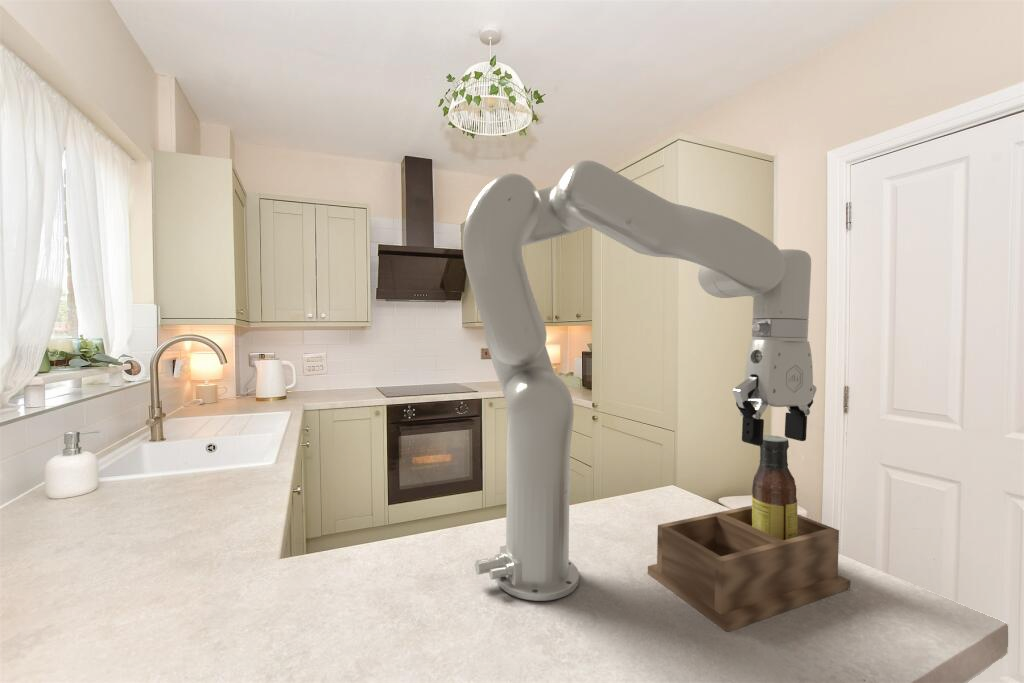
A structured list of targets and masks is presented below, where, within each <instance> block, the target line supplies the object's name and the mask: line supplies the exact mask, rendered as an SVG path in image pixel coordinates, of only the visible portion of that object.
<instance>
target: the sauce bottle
mask: <svg viewBox="0 0 1024 683" xmlns="http://www.w3.org/2000/svg"><path fill="white" fill-rule="evenodd" d="M789 444H790V443H789V438H787V437H785V436H779V435H771V434H769V435H768V434H765V435H764V434H763V444H762V445H761V446H759V449H760V450H759V451H760V452H759V453H760V455H759V458H760V459H759V465H758V468H757V471H756V473H755V474H754V476H753V480H752V486H751V505H752V527H754V528H757V529H759V530H761V531H763V532H765V533H768V534H770V535H772V536H774V537H777V538H779V539H781V540H787V539H791V538H794V537H798V523H797V514H798V498H797V484H796V480H795V477H794V476H793V474H792V472H791V471H790V469H789V463H788V449H789V447H790V445H789Z"/></svg>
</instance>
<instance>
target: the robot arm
mask: <svg viewBox="0 0 1024 683" xmlns="http://www.w3.org/2000/svg"><path fill="white" fill-rule="evenodd" d="M589 227H590V228H591V229H594V230H595V231H598V232H600V233H601V234H602V235H603V234H604V235H605V236H607V237H609V238H610V239H612V240H614V241H616V242H617V243H620V244H621V245H624V247H626V248H628V249H630V250H633V251H634V252H635V253H638V254H639V255H645V256H649V257H654V258H655V257H656V258H669V259H671V258H672V259H679V260H683V261H687V262H691V263H694V264H697V265H698V266H699V269H698V272H697V279H698V283H699V286H700V287H701V288H702V289H703V291H704V292H706V293H707V294H708V295H711V296H713V297H715V298H720V299H732V298H741V297H753V301H752V302H753V303H752V304H753V305H752V326H751V339H750V341H749V342H750V343H749V346H748V350H747V354H746V355H747V356H746V362H745V363H746V364H745V370H744V371H745V372H744V381H742V382H741V383H740V384H739V385H737V386H736V387H734V388H733V391H732V392H733V396H734V400H735V401H736V404H735V405H736V407H737V409H738V410H739V415H740V416H741V417H742V429H741V441H742V442H743V443H747V444H751V445H753V446H757V447H760V446H761V445H762V444H763V436H764V427H765V426H764V424H765V420H764V419H763V418H761V417H762V416H763V414H764V412H765V411H766V409H767V408H768V406H770V407H773V408H774V407H775V408H782V407H783V408H784V407H786V408H787V411H788V412H785V420H784V422H785V424H784V438H787V439H791V440H794V441H795V440H796V441H799V442H805V441H806V440H807V430H808V429H807V427H808V416H809V415H810V414H811V410H810V408H811V407H812V405H813V404H814V398H815V395H816V392H817V386H816V385H814V374H813V373H814V372H813V358H812V349H811V344H810V343H811V342H810V341H809V339H808V337H809V336H808V335H809V323H810V322H809V315H810V299H811V298H810V295H811V280H812V279H811V278H812V277H811V274H812V256H810V254H809V252H807V251H805V250H801V249H793V248H792V249H789V248H788V249H787V248H786V249H785V248H784V249H780V248H779V247H778V246H777V245H776V244H775V243H774V242H773V241H772V240H770V239H769V238H767V237H765V236H764V235H763V234H761V233H758V231H756V230H754V229H751V228H750V227H749V226H747V225H745V224H743V223H740V222H739V221H737V220H734V219H732V218H729V217H728V216H727V217H726V216H724V215H721V214H717V213H714V212H710V211H705V210H702V209H699V208H695V207H693V206H687V205H683V204H677V203H674V202H671V201H669V200H667V199H665V198H663V197H661V196H659V195H658V194H655V193H654V192H651V191H650V190H648V189H646V188H645V187H643V186H641V185H640V184H639V183H636V182H635V181H632V180H631V179H629V178H627V177H625V176H623V175H621V174H620V173H618V172H617V171H614V170H613V169H612V168H609V167H608V166H606V165H604V164H601V163H599V162H597V161H594V160H589V159H587V160H581V161H578V162H575V163H574V164H573V165H571V166H570V167H569V168H568V169H567V170H565V172H564V174H563V175H562V176H561V178H560V179H559V181H558V183H557V184H554V185H552V186H548V187H545V188H541V189H537V187H536V186H535V185H534V183H533V182H532V181H531V180H530V179H528V177H526V176H523V175H521V174H518V173H506V174H503V175H500V176H498V177H496V178H494V179H493V180H491V181H490V182H489V183H488V184H487V185H485V187H484V188H483V189H482V190H481V191H480V193H479V194H478V195H477V196H476V198H475V199H474V200H473V202H472V204H471V206H470V208H469V211H468V213H467V216H466V219H465V223H464V228H463V234H462V254H463V261H464V265H465V266H464V267H465V270H466V274H467V276H468V277H467V278H468V280H469V284H470V287H471V290H472V294H473V297H474V301H475V306H477V307H476V308H477V311H478V313H479V317H480V319H481V324H482V327H483V332H484V333H483V335H484V341H485V344H486V346H487V350H488V353H489V356H490V359H491V362H492V365H493V368H494V371H495V374H496V376H497V380H498V383H499V384H500V385H499V386H500V388H501V391H502V394H503V397H504V400H505V403H506V408H507V412H506V413H507V414H506V415H507V432H506V433H507V437H506V439H507V440H506V517H505V518H506V519H505V521H506V526H505V527H506V528H505V529H506V530H505V531H506V534H505V539H506V541H505V542H506V543H505V544H506V545H501V546H499V553H498V554H495V555H494V557H490V558H483V559H478V560H475V562H474V568H475V573H476V575H477V576H478V575H480V576H481V575H484V574H489V578H490V580H496V582H497V585H498V587H500V588H501V590H503V591H504V592H506V593H507V594H509V595H511V596H513V597H516V598H518V599H522V600H527V601H535V602H543V601H544V602H545V601H547V602H548V601H554V600H557V599H562V598H563V597H566V596H568V595H570V594H571V593H572V592H574V591H575V589H576V588H577V587H578V585H579V581H580V575H579V573H580V572H579V569H578V568H577V566H576V564H574V563H573V562H572V561H571V560H570V558H569V557H570V556H569V554H570V550H569V548H570V486H571V484H570V481H571V479H570V478H571V477H570V476H571V475H570V473H571V470H570V469H571V467H570V466H571V446H572V445H571V444H572V433H573V426H574V417H575V416H574V412H575V411H574V410H575V408H574V403H573V397H572V394H571V391H570V389H569V387H568V386H567V385H566V383H565V382H564V380H562V379H561V378H560V377H559V376H557V375H556V372H555V371H554V367H553V365H552V361H551V359H550V356H549V352H548V349H547V347H546V342H547V328H546V325H545V322H544V320H543V317H542V316H541V312H540V310H539V308H538V305H537V301H536V299H535V295H534V293H533V290H532V288H531V287H532V286H531V285H530V282H529V281H530V280H529V277H528V273H527V271H526V267H525V263H524V259H523V247H525V246H529V245H533V244H537V243H540V242H543V241H547V240H553V239H556V238H560V237H563V236H566V235H570V234H573V233H577V232H578V231H582V230H585V229H586V228H589ZM755 406H756V407H755Z"/></svg>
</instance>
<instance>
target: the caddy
mask: <svg viewBox="0 0 1024 683" xmlns="http://www.w3.org/2000/svg"><path fill="white" fill-rule="evenodd" d="M797 523H798V537H794V538H791V539H787V540H781V539H779V538H777V537H774V536H772V535H770V534H768V533H765V532H763V531H761V530H759V529H757V528H754V527H752V504H751V505H748V506H743V507H739V508H738V507H737V508H733V509H728V510H724V511H718V512H714V513H710V514H709V513H708V514H705V515H700V516H694V517H691V518H690V517H689V518H685V519H681V520H680V519H679V520H676V521H671V522H665V523H660V524H657V547H656V563H655V564H650V565H647V574H648V575H649V576H650V577H651V578H653V579H654V580H656V581H657V582H658V583H660V584H661V585H662V586H664V587H665V588H667V590H669V591H671V592H672V593H674V594H675V595H676V596H678V597H679V598H680V599H682V600H683V601H684V602H685V603H687V604H689V605H690V606H691V607H692V608H694V609H695V610H697V611H698V612H699V613H701V614H702V615H703V616H705V617H707V618H708V619H709V620H710V621H712V622H713V623H714V624H716V625H717V626H719V627H720V628H721V629H723V630H724V631H726V633H729V632H730V631H734V630H736V629H739V628H742V627H745V626H748V625H751V624H755V623H756V622H759V621H762V620H765V619H768V618H770V617H774V616H777V615H779V614H782V613H784V612H788V611H790V610H793V609H795V608H798V607H799V608H800V607H802V606H805V605H808V604H810V603H813V602H817V601H819V600H821V599H824V598H828V597H831V596H832V595H835V594H838V592H839V593H841V591H842V592H843V591H844V590H845V591H847V590H849V589H848V588H850V589H851V580H850V579H848V578H846V577H844V576H842V575H839V550H840V548H839V547H840V546H839V545H840V544H839V543H840V530H839V529H838V528H835V527H831V526H829V525H826V524H825V523H821V522H819V521H816V520H813V519H811V518H808V517H806V516H803V515H800V514H799V513H797Z"/></svg>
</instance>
